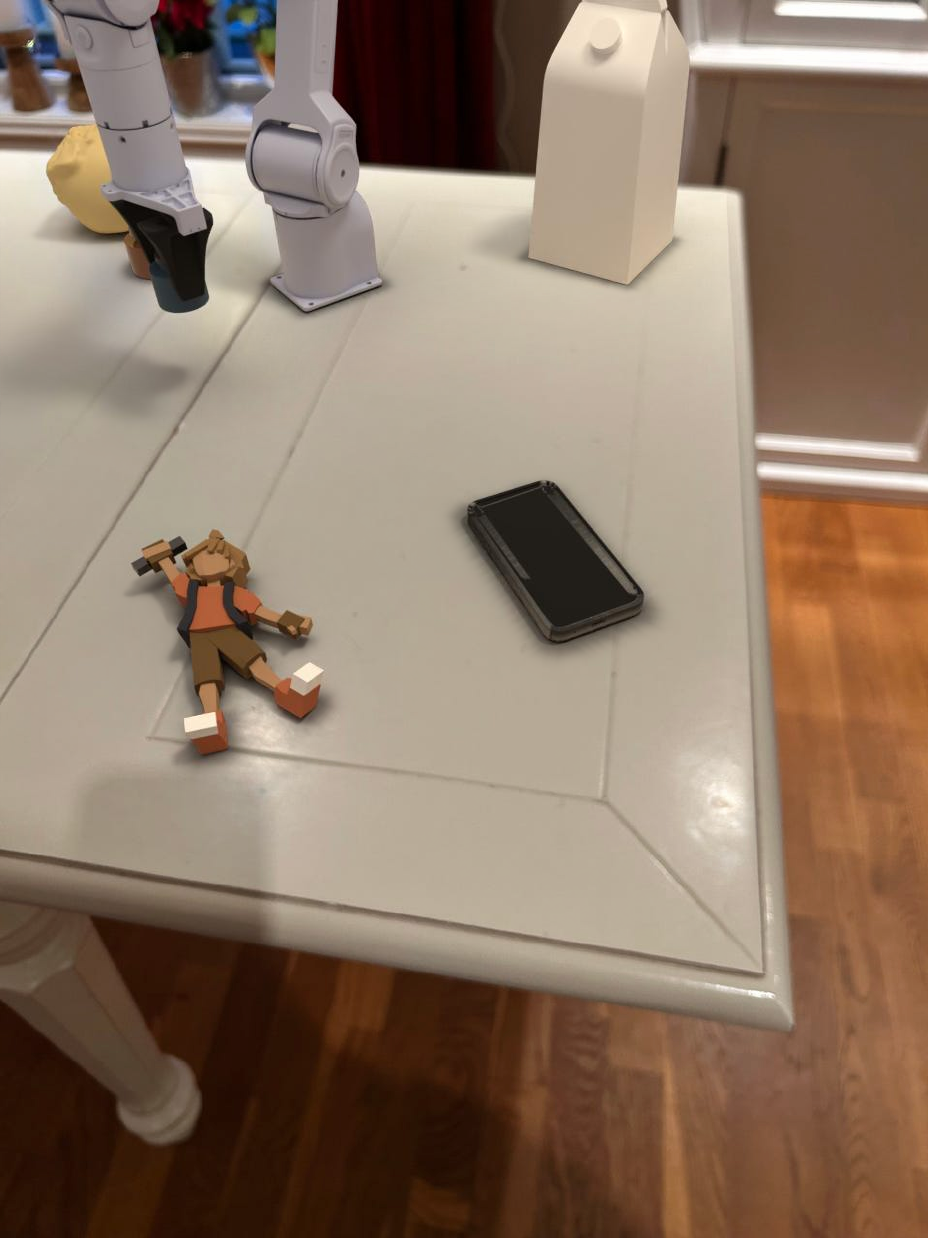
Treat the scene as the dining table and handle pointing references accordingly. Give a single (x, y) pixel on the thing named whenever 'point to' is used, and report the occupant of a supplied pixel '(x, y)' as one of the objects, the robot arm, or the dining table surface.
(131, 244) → the brown cup
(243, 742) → the dining table surface
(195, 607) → the character figurine
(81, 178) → the sculpture
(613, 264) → the milk
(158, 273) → the slate bottle
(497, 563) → the phone
